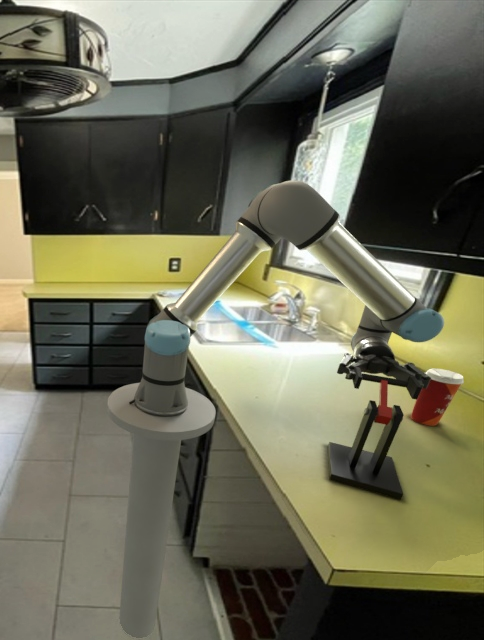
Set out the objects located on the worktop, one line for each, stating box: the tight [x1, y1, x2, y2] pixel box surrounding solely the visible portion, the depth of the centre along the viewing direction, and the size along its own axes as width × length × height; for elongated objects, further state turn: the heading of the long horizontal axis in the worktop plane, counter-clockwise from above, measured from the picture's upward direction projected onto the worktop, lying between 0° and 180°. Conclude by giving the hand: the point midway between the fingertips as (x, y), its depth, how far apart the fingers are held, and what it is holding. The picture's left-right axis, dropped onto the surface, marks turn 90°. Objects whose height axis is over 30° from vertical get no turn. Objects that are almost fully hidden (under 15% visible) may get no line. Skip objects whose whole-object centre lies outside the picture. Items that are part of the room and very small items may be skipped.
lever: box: [361, 372, 409, 426], centre depth 76 cm, size 12×8×2 cm, turn 150°
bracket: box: [327, 399, 405, 501], centre depth 76 cm, size 14×12×16 cm
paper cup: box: [410, 368, 465, 427], centre depth 96 cm, size 8×8×14 cm
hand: (386, 387), depth 75 cm, fingers open, 9 cm apart
